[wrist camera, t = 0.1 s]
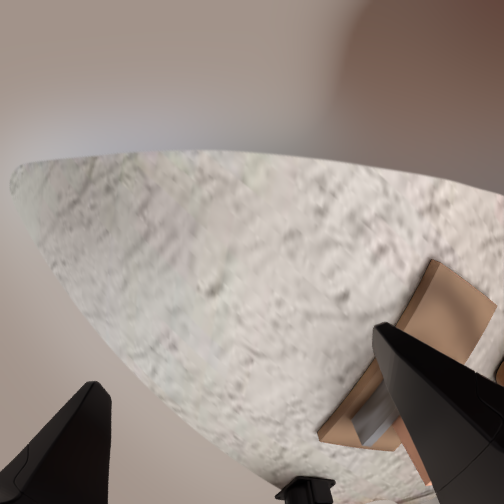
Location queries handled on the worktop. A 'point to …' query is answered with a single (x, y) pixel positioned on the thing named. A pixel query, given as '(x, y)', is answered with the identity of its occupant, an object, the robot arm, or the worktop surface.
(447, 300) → the chute
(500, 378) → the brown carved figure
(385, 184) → the worktop surface
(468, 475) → the robot arm
